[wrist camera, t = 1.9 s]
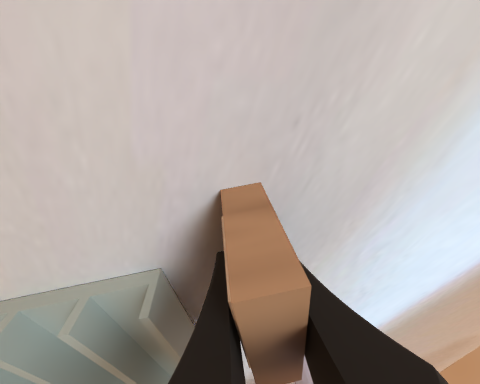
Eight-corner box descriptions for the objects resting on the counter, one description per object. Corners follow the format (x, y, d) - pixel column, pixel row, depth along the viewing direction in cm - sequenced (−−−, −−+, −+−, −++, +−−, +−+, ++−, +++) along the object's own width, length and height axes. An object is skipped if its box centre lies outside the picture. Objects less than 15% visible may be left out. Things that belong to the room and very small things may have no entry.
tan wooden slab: (269, 273, 14) (301, 380, 9) (238, 279, 14) (253, 391, 9) (260, 182, 10) (311, 285, 5) (216, 190, 10) (223, 304, 5)
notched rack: (212, 358, 21) (213, 397, 18) (93, 386, 20) (77, 430, 18) (160, 268, 12) (148, 316, 10) (-45, 310, 12) (-115, 374, 9)
